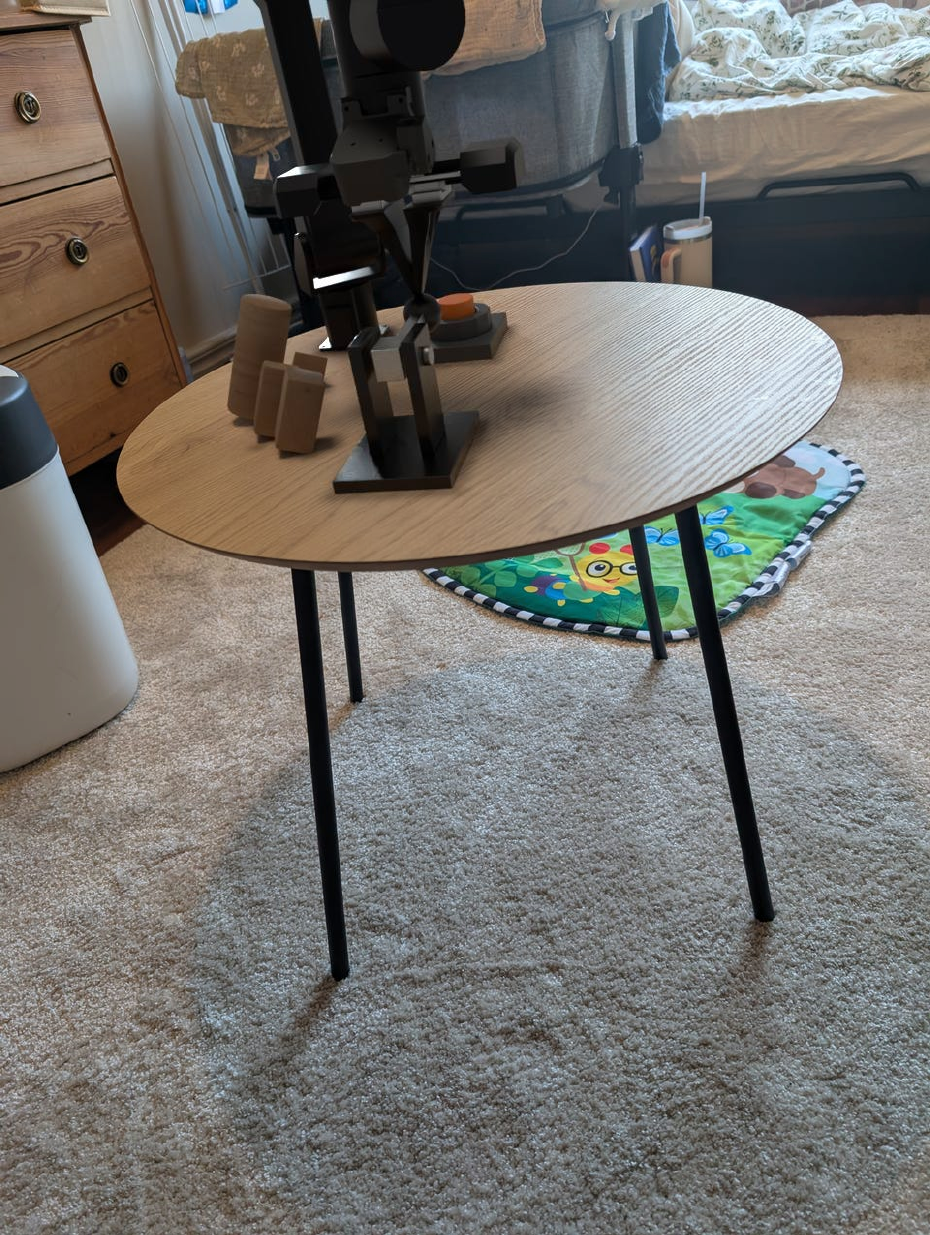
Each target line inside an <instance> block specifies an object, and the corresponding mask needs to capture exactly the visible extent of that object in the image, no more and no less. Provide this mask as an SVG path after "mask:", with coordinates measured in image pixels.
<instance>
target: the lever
mask: <svg viewBox="0 0 930 1235" xmlns="http://www.w3.org/2000/svg"><path fill="white" fill-rule="evenodd" d="M402 309H403V310H402V319H403V322H404V323H403V325H402V326H401V328H400V329H399V331H398V333H397V334H396V335H394V336H384V337H382V338H380V339H379V340H378V341H377V343H376V344H375V345H374V347H373V348H372V350H371V351H370V353H371V357H372V362H373V366H374V371H375V376H376V380H377V382H387V383H389V382H401V381H406V380H407V375H406V370H405V364H404V359H403V354H402V349H401V342H402V341H403V339H404V338H405V336H406V335H407V334H408V332H409V331H410V330H411V328H412V327H413V325H414V324H415V323H424V322H427V324H428V330H429V333H430V332H432V331H434V330H435V329H436V328H437V327H438V325H439V323H440V321H441V317H442V310H441V307H440V304H439V302H438V299H437V298H435V297H434V296H433V295H431V294H430V293H425V292H423V294H422V295H414V296H413V295H411V296H410V297H408V299H407V300H406V301H405V303H404V306H403V308H402Z"/></svg>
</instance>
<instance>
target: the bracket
mask: <svg viewBox="0 0 930 1235" xmlns="http://www.w3.org/2000/svg"><path fill="white" fill-rule="evenodd" d="M377 341H378V335H377V330H376V327H369V328H363V330H362V331H361V332H360V333H359V334H358V335H357V337H356V338H355V339H354V340H353V341H352V342H351V343H350V345H349V346H348V347H347V350H346V351H347V355H348V359H349V364H350V368H351V373H352V378H353V381H354V386H355V391H356V395H357V400H358V405H359V408H360V413H361V417H362V422H363V428H364V434H363V435H362V436H361V438H360V440H359V441H358V442H357V443H356V445H355V447H354V448H353V450H352V451H351V453H350V455H349V456H348V457H347V459H346V461H345V462H344V463H343V465H342V467H341V468H340V470H339V471H338V473H337V474H336V476H335V477H334V479H333V480H332V482H331V484H332V487H333V491H334V494H335V495H341V494H343V495H344V494H364V493H365V494H366V493H385V492H386V493H387V492H405V491H406V492H407V491H408V492H409V491H426V490H427V491H431V490H449V489H452V488H454V487H453V486H454V485H455V482H456V480H457V477H458V475H459V472H460V471H461V469H462V465H463V463H464V461H465V458H466V456H467V454H468V452H469V449H470V447H471V444H472V442H473V440H474V437H475V435H476V433H477V430H478V428H479V425H480V423H481V417H480V411H479V410H478V409H477V410H465V411H451V412H443V406H442V402H441V401H442V400H441V396H440V390H439V389H440V388H439V384H438V376H437V372H436V371H437V370H436V366H435V365H436V364H434V352H433V348H432V346H431V341H430V336H429V330H428V324H427V322H424V323H415V324H414V325H413V327H412V328H411V330H410V331H409V332H408V334H407V335H406V336H405V338H404V339H403V341H402V342H401V349H402V354H403V359H404V364H405V370H406V375H407V378H406V380H407V385H408V389H409V396H410V400H411V401H410V402H411V406H412V412H413V414H404V415H403V414H402V415H394V408H393V404H392V400H391V395H390V390H389V385H388V384H389V383H388V382H377V380H376V376H375V371H374V366H373V362H372V357H371V353H370V351H371V350H372V348H373V347H374V345H375V344H376V343H377Z"/></svg>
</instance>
